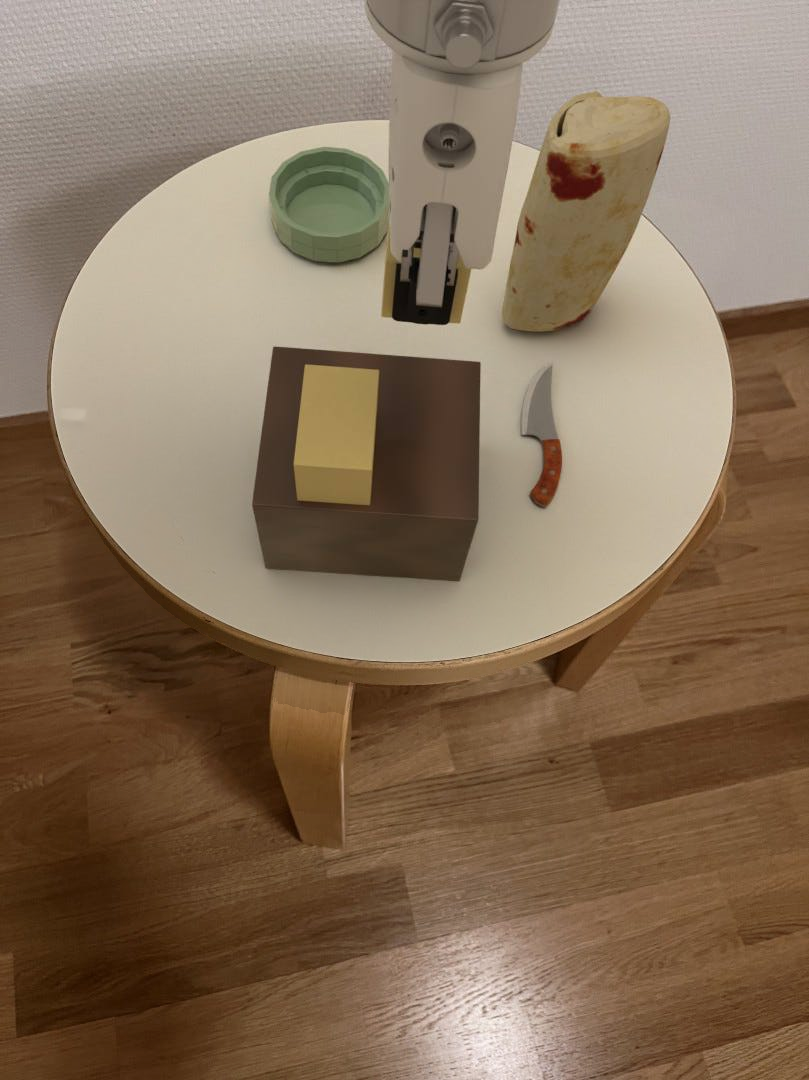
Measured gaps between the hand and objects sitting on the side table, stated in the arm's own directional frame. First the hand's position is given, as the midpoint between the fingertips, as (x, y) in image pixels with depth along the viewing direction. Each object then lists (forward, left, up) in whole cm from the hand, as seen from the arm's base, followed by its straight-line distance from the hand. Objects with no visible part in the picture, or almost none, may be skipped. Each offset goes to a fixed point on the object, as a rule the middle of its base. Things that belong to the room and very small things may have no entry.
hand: (421, 294), depth 51 cm
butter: (-4, -5, -10) cm, 12 cm away
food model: (+12, +16, -20) cm, 28 cm away
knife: (+11, +4, -20) cm, 23 cm away
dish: (-7, +24, -20) cm, 32 cm away
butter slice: (0, 0, -1) cm, 1 cm away
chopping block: (-2, -3, -20) cm, 20 cm away
